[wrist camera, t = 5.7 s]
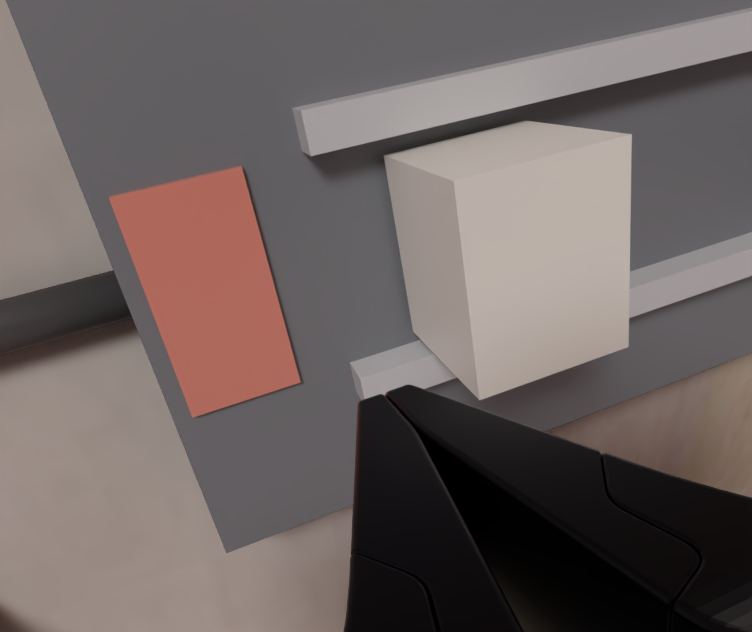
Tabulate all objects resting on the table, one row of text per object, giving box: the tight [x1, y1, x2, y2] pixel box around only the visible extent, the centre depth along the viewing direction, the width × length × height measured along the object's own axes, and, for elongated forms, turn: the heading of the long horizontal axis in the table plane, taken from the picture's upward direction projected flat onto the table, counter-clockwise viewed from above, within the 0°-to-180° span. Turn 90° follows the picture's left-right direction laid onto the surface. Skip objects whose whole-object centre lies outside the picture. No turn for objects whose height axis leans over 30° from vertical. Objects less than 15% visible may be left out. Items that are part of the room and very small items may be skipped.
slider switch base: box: [0, 0, 752, 553], centre depth 17 cm, size 36×16×4 cm, turn 101°
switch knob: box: [384, 121, 632, 400], centre depth 14 cm, size 4×5×4 cm
